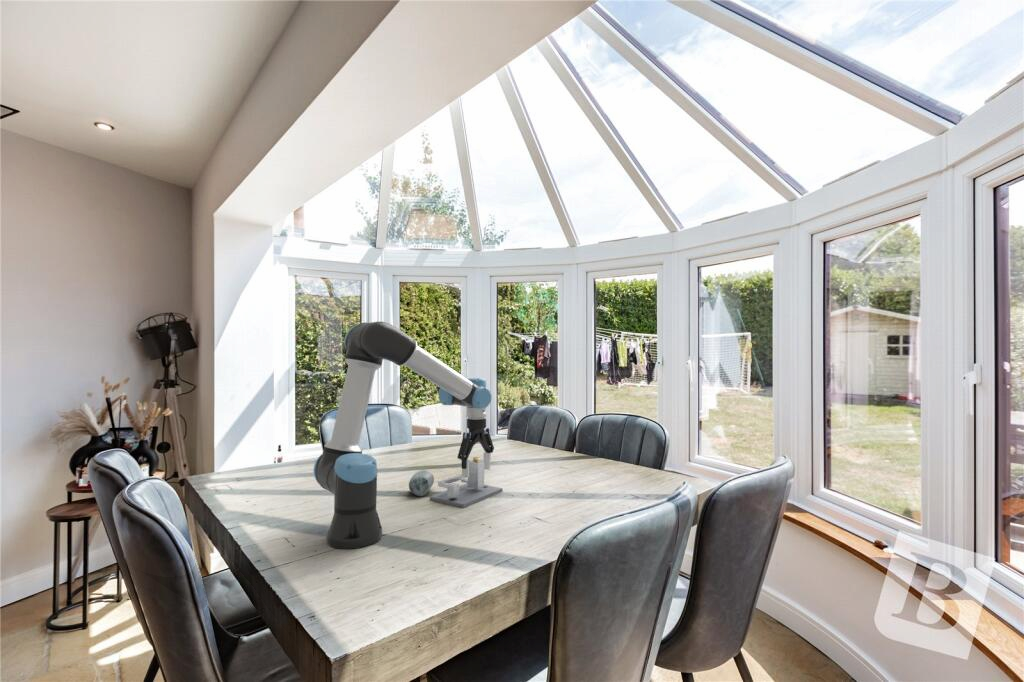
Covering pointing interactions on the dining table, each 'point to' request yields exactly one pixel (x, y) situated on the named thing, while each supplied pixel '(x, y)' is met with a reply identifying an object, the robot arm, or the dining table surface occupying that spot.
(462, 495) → the flange plate
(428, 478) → the grey rounded oval lump
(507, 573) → the dining table surface
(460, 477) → the dividers frame
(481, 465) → the post
